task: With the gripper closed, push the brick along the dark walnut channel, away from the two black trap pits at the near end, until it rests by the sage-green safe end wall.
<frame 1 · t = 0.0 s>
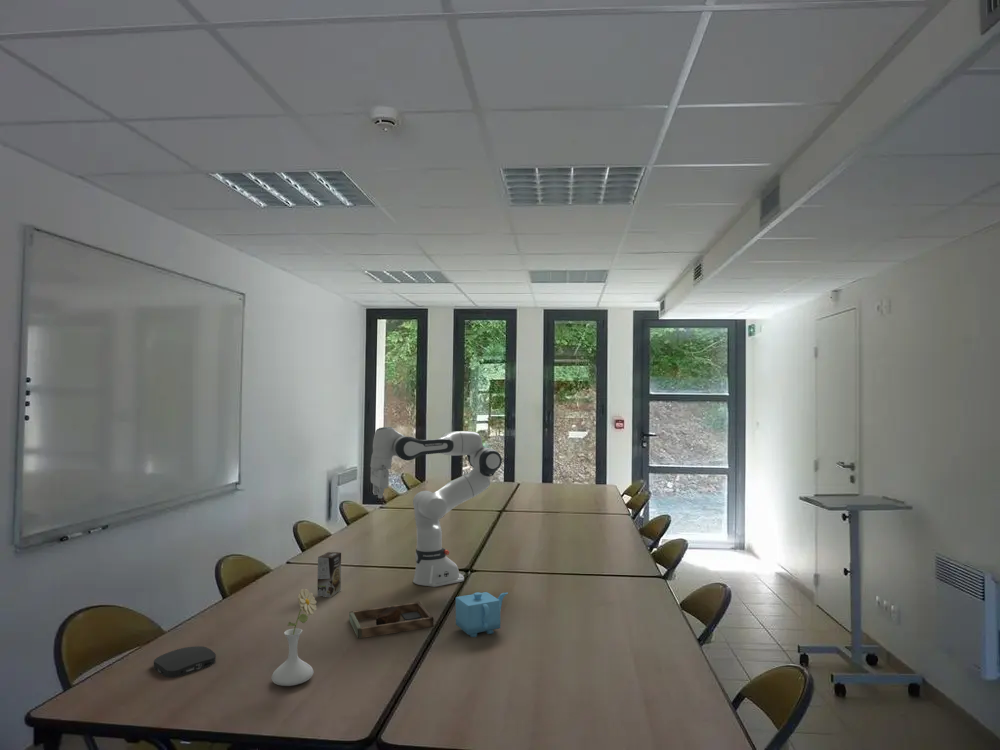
hand: (377, 496, 256), 39 cm above the table, tool pointing down, fingers open, 8 cm apart
brick: (388, 624, 213), on the table
media streaming box: (184, 666, 181), on the table
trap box: (390, 623, 214), on the table
trap pits: (413, 619, 217), on the table
coffee box: (329, 594, 247), on the table
flower in vase: (295, 680, 171), on the table
teapot: (485, 630, 208), on the table
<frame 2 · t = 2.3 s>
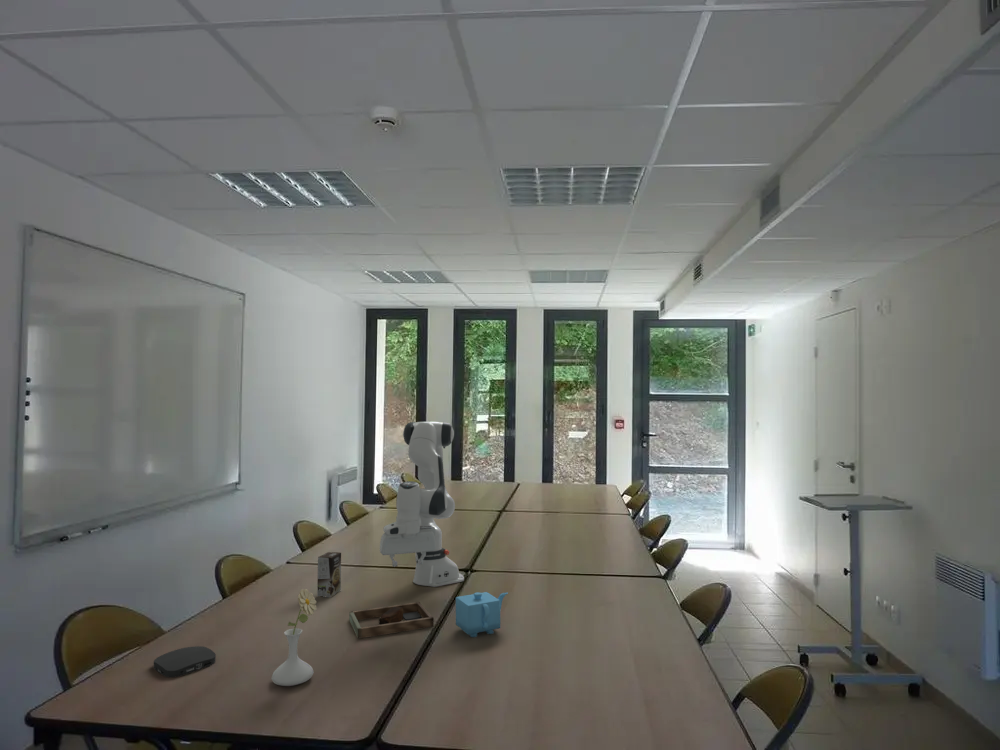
hand: (407, 565, 217), 20 cm above the table, tool pointing down, fingers open, 8 cm apart
brick: (391, 625, 213), on the table
everything else where it was.
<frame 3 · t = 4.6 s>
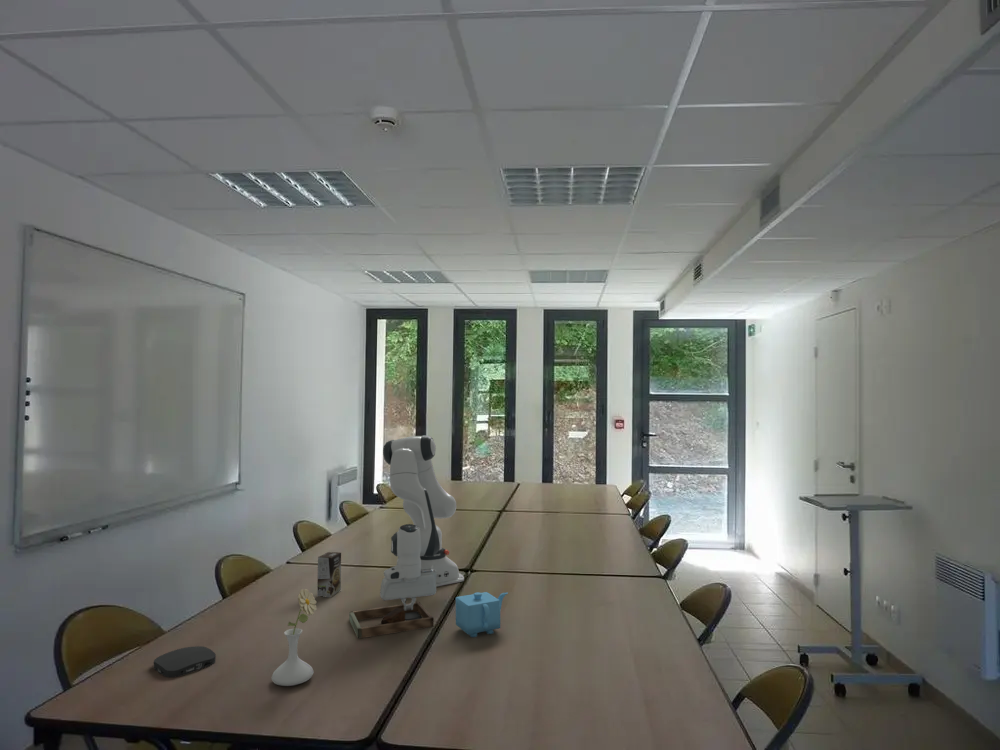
hand: (408, 610, 215), 4 cm above the table, tool pointing down, fingers closed
brick: (393, 626, 212), on the table, touching gripper
everything else where it was.
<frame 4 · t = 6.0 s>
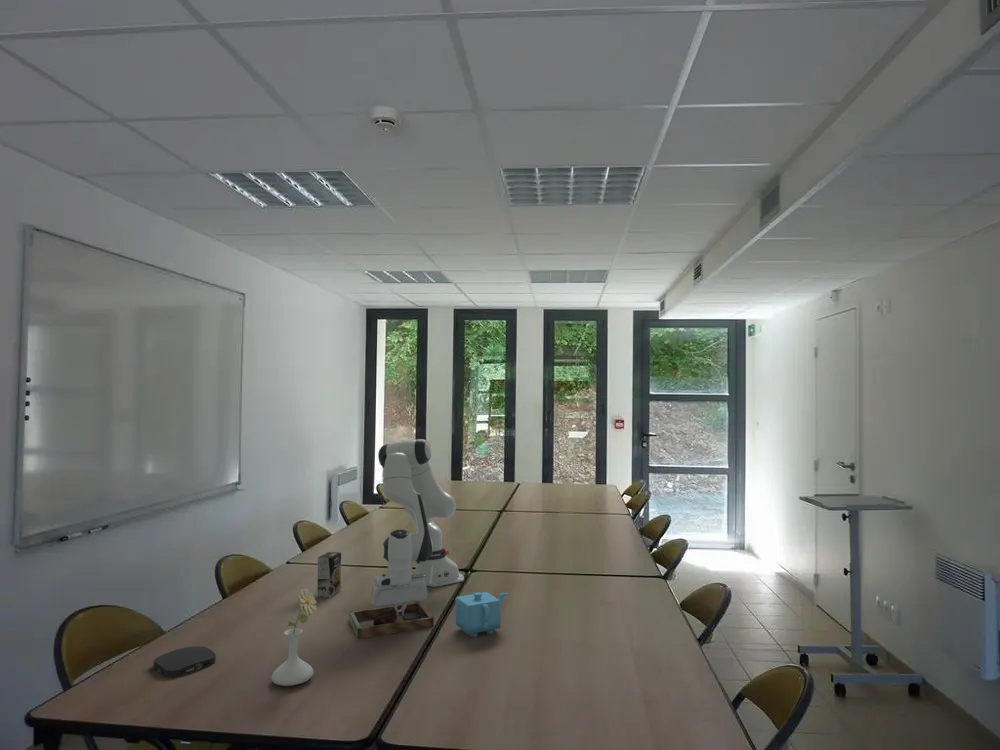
hand: (399, 615, 214), 2 cm above the table, tool pointing down, fingers closed
brick: (385, 626, 211), on the table, touching gripper
everything else where it was.
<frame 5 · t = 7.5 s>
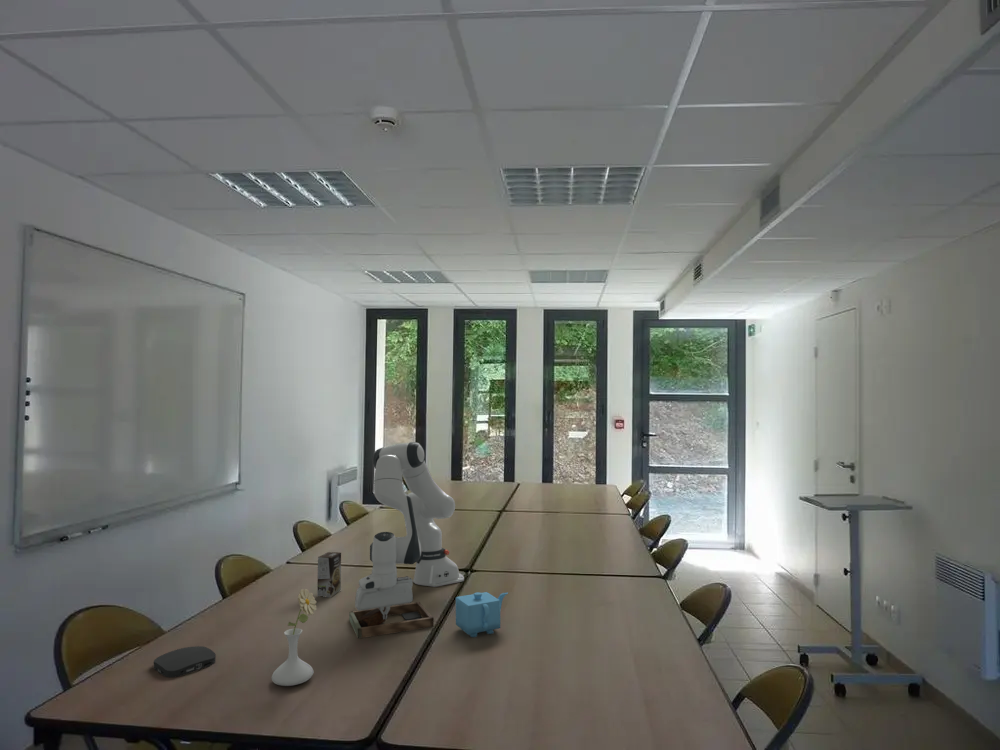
hand: (384, 618, 212), 2 cm above the table, tool pointing down, fingers closed, pressing on brick
brick: (372, 626, 210), on the table, touching gripper, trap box
everything else where it was.
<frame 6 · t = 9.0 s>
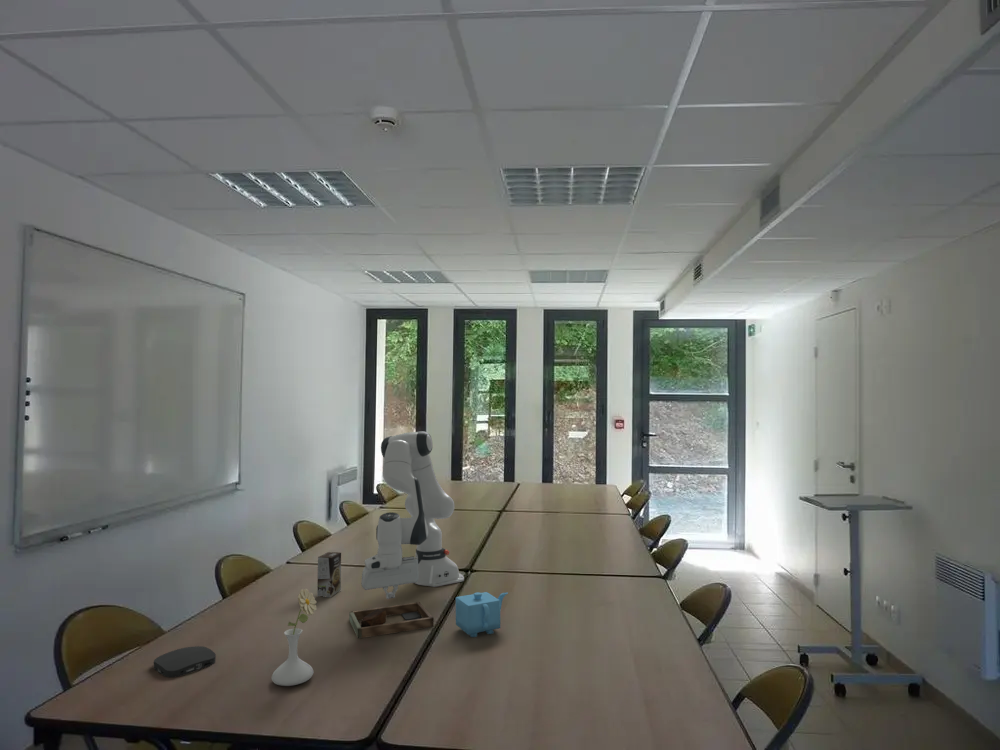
hand: (390, 598, 214), 9 cm above the table, tool pointing down, fingers closed
brick: (373, 627, 210), on the table
everything else where it was.
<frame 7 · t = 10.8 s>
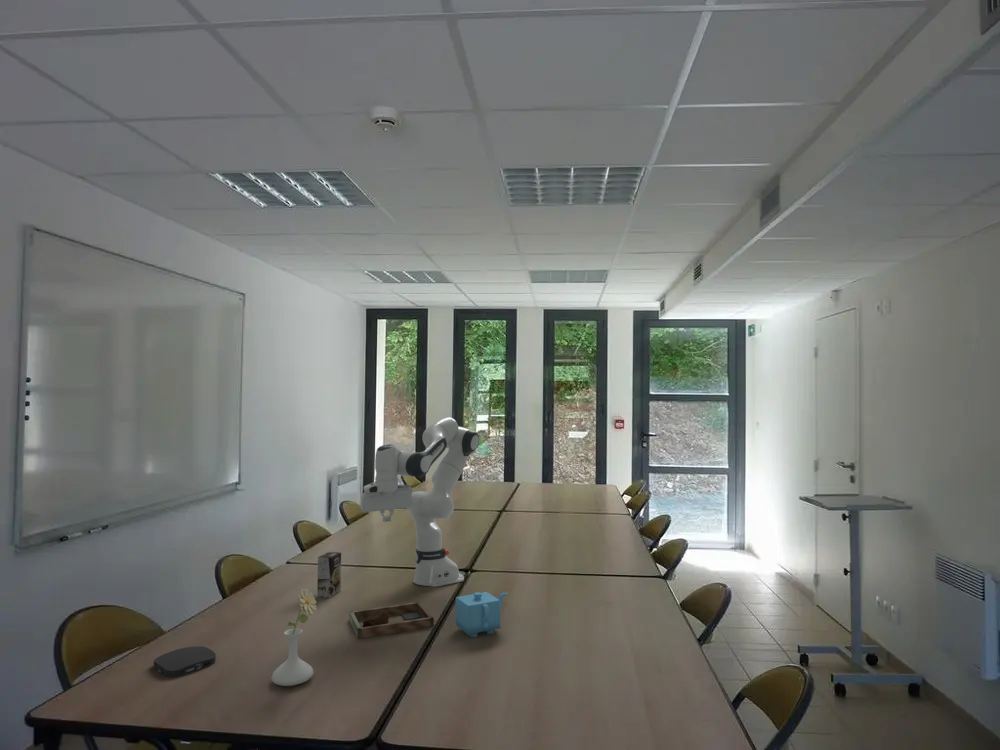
hand: (386, 521, 235), 32 cm above the table, tool pointing down, fingers closed
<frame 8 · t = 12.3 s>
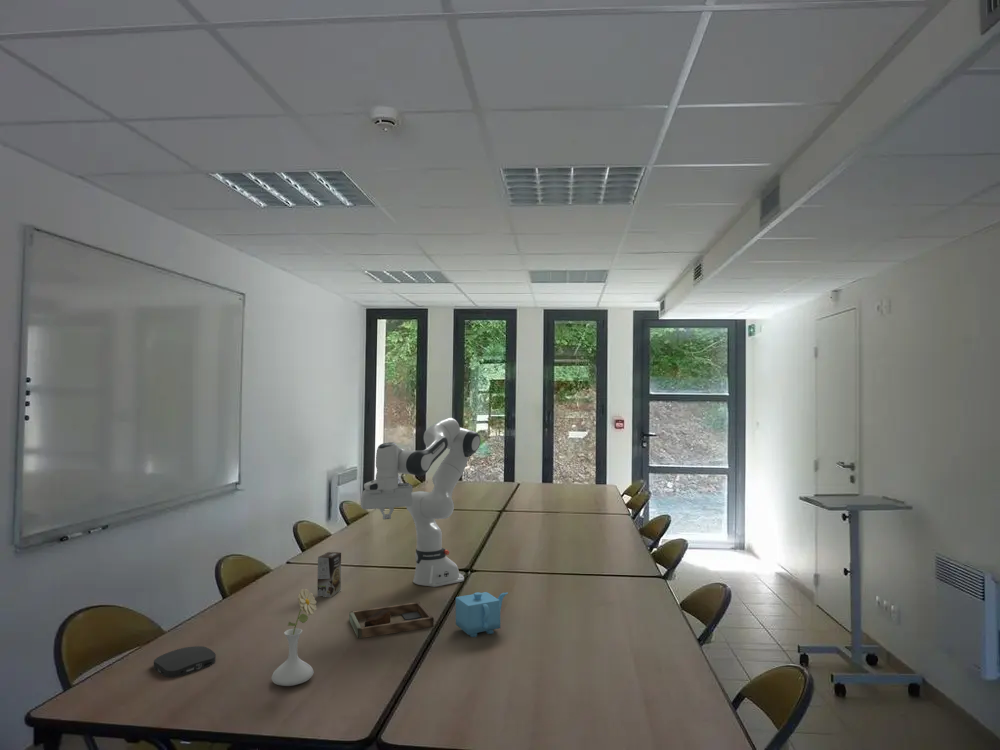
hand: (386, 519, 236), 33 cm above the table, tool pointing down, fingers closed
at the end: brick inside the target area (4.2 cm from its centre), on the table; brick touching table; brick tilted 1° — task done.
